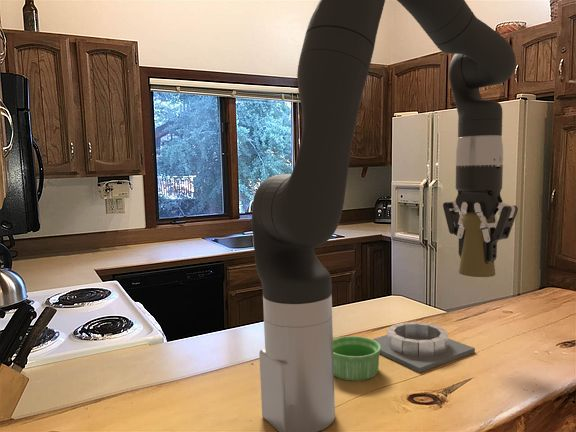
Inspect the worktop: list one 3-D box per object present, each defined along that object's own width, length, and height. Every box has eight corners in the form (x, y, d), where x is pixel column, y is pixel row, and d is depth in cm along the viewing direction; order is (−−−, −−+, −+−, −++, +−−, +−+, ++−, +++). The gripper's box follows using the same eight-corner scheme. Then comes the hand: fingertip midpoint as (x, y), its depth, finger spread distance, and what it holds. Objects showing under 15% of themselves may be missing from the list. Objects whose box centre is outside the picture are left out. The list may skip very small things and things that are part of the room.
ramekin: (326, 383, 74) (325, 356, 73) (327, 359, 83) (326, 335, 82) (383, 384, 73) (383, 357, 72) (378, 360, 82) (378, 335, 81)
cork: (489, 269, 85) (490, 209, 84) (500, 277, 79) (502, 212, 78) (455, 269, 86) (456, 210, 85) (463, 277, 80) (464, 213, 79)
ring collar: (418, 361, 78) (418, 347, 78) (376, 342, 87) (376, 329, 87) (459, 347, 84) (459, 333, 83) (416, 330, 92) (415, 318, 92)
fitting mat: (419, 372, 76) (419, 368, 76) (363, 346, 88) (362, 341, 88) (474, 352, 83) (474, 347, 83) (415, 330, 95) (415, 326, 95)
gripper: (431, 164, 85) (430, 257, 86) (502, 162, 72) (499, 270, 74) (459, 164, 88) (457, 253, 90) (531, 162, 76) (527, 265, 78)
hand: (476, 260), depth 82 cm, fingers closed on cork, 4 cm apart
